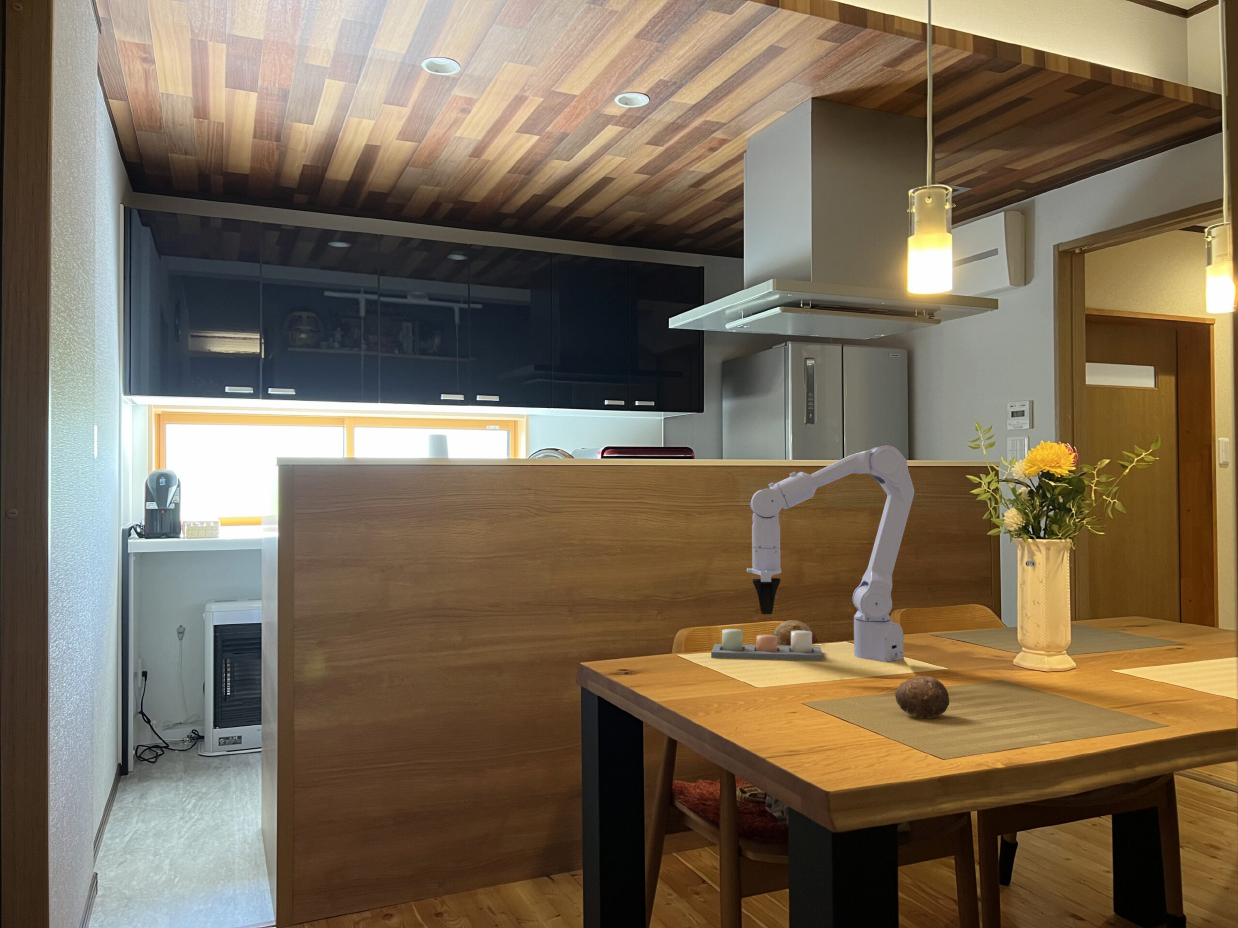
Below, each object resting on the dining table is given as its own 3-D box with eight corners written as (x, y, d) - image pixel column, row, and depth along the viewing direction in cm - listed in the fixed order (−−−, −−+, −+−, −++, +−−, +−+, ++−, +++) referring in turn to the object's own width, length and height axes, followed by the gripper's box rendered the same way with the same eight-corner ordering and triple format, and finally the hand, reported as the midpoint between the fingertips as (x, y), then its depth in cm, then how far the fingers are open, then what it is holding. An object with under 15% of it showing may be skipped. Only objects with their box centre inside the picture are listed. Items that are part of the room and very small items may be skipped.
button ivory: (811, 654, 193) (811, 630, 193) (812, 657, 189) (812, 633, 189) (790, 653, 194) (790, 630, 194) (791, 657, 190) (791, 633, 190)
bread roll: (770, 661, 212) (756, 630, 211) (803, 639, 216) (791, 608, 215) (796, 669, 203) (782, 636, 202) (830, 645, 207) (817, 613, 206)
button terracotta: (777, 658, 194) (777, 634, 194) (777, 661, 190) (777, 638, 190) (756, 657, 195) (756, 634, 195) (756, 661, 191) (756, 637, 191)
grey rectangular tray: (820, 658, 195) (820, 646, 196) (822, 667, 186) (822, 655, 186) (714, 655, 199) (714, 643, 199) (711, 664, 189) (711, 652, 189)
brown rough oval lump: (910, 684, 155) (914, 658, 151) (955, 710, 150) (960, 683, 146) (884, 714, 150) (887, 688, 147) (929, 741, 145) (934, 714, 142)
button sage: (743, 652, 195) (742, 629, 195) (742, 655, 191) (742, 632, 191) (722, 651, 196) (722, 628, 196) (721, 655, 192) (721, 631, 192)
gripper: (747, 545, 201) (748, 608, 200) (745, 549, 186) (745, 618, 186) (781, 545, 200) (781, 609, 199) (781, 549, 185) (781, 618, 185)
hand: (766, 613), depth 193 cm, fingers closed
